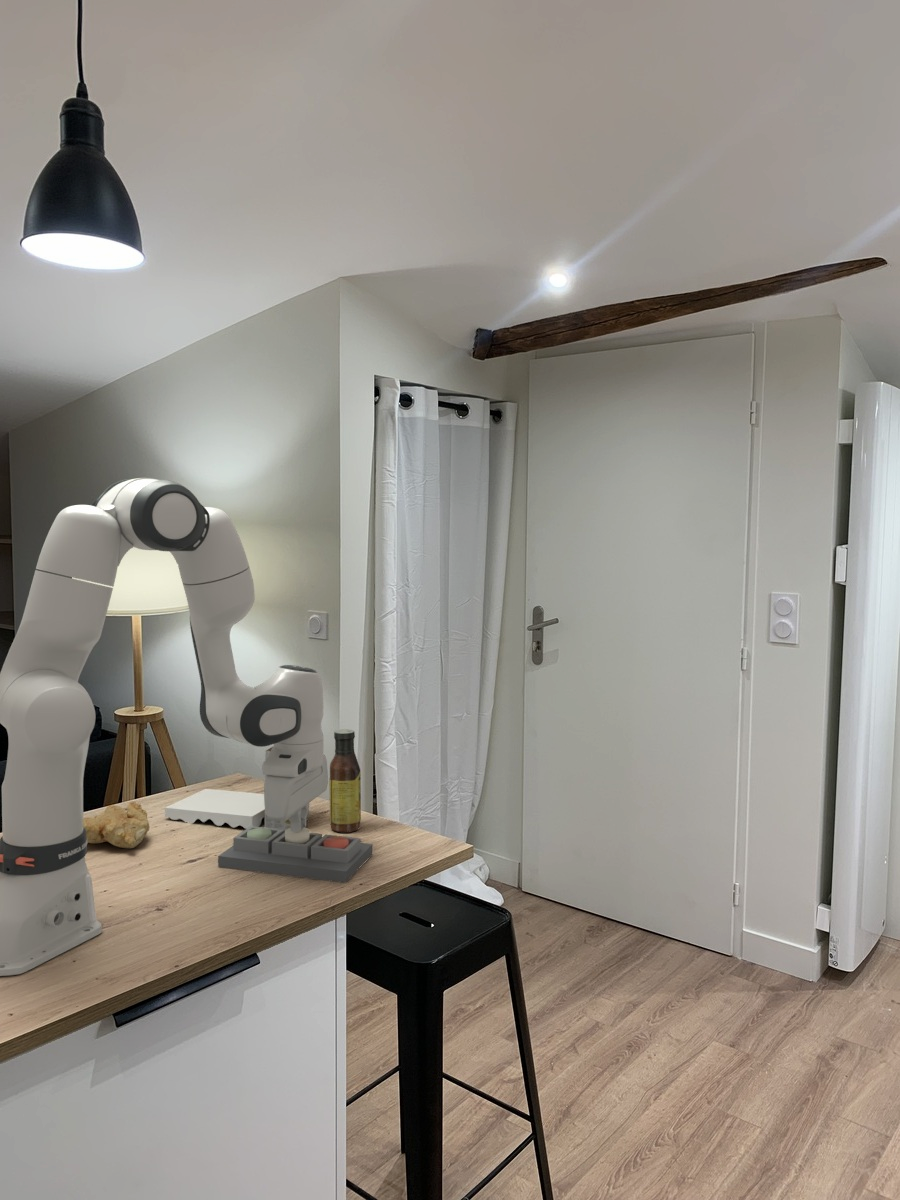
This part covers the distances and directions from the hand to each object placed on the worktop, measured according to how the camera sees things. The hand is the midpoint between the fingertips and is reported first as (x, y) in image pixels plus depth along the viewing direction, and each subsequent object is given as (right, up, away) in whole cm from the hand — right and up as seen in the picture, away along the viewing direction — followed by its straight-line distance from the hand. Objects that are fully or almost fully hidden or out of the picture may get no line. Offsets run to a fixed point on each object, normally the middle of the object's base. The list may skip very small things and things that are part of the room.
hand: (298, 829), depth 166 cm
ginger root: (-36, -5, +8) cm, 37 cm away
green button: (-8, -3, +2) cm, 8 cm away
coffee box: (-6, -4, +20) cm, 21 cm away
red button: (+7, -4, -2) cm, 8 cm away
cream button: (0, -2, 0) cm, 3 cm away
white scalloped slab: (-19, -4, +25) cm, 32 cm away
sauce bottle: (+6, -5, +18) cm, 20 cm away
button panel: (0, -6, 0) cm, 6 cm away
